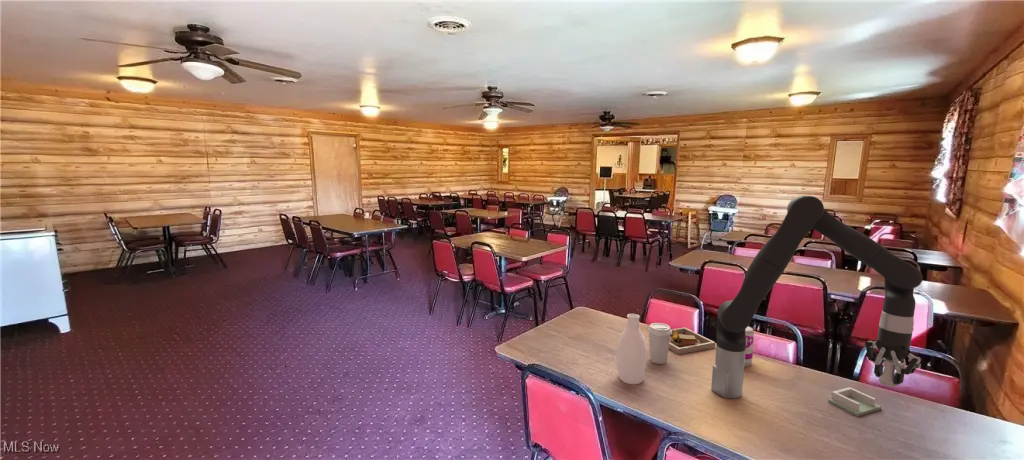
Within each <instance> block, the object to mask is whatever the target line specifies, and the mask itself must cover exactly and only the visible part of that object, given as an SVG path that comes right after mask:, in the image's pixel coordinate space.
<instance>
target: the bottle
mask: <svg viewBox="0 0 1024 460" xmlns="http://www.w3.org/2000/svg"><path fill="white" fill-rule="evenodd" d="M626 317H627V321H626V327H625V328H624V330H623V332H622V333H621V334H620V337H619V340H618V343H617V348H616V361H617V363H616V365H617V373H618V378H619V379H620V381H621V382H623V383H625V384H629V385H639V384H641V383H642V382H643V381H644V380H645V379H644V378H645V374H646V369H647V360H648V349H647V342H646V340H645V337H644V334H643V332H642V330H641V329H640V318H641V317H640V315H639V314H636V313H628V314H627V316H626Z"/></svg>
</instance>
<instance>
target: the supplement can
mask: <svg viewBox="0 0 1024 460" xmlns="http://www.w3.org/2000/svg"><path fill="white" fill-rule="evenodd" d="M745 337H746V351H745V363H744V367H748V366H750V365H752V363H753V355H754V346H755V345H754V343H755V331H754V328H753V327H751V326H750V325H748V327H747V328H746V329H745Z"/></svg>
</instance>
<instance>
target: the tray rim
mask: <svg viewBox="0 0 1024 460" xmlns="http://www.w3.org/2000/svg"><path fill="white" fill-rule="evenodd" d="M675 330H676V331H677V334H684V335H693V336H695V338H696V339H698V340H699V341H700V344H697V345H692V346H687V347H682V346H678V345H676V344H674V343H673V342H669V348H668V350H670V349H671V350H670V351H672V352H674V353H675V352H676V354H677V355H683V354H689V352H690V353H695V352H700V351H704V350H710V349H714V348H715V349H716V341H714V340H712V339H709V338H707V337H706V336H703V335H701V334H699V333H697V332H695V331H694V330H691V329H689V328H687V327H684V326H683V327H678V328H672V329H671V331H672V334H671V336H673V334H674V332H675ZM711 342H712V343H711Z"/></svg>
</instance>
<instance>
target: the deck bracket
mask: <svg viewBox="0 0 1024 460" xmlns="http://www.w3.org/2000/svg"><path fill="white" fill-rule="evenodd" d="M876 401H877V398H875V397H873V396H870V395H868V394H866V393H863V392H862V391H859V390H857V389H854V388H852V387H850V386H849V387H846V388H845V387H844V388H841V389H838V390H834V391H832V392H831V397H830V398H829V399H827V403H829V404H831V405H833V406H835V407H837V408H839V409H841V410H842V411H845V412H848V413H849V414H851V415H854V416H856V417H860V416H863V415H867V414H870V413H873V412H877V411H879V410H881V409H882V406H881V405H879V404H877V403H876Z"/></svg>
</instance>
